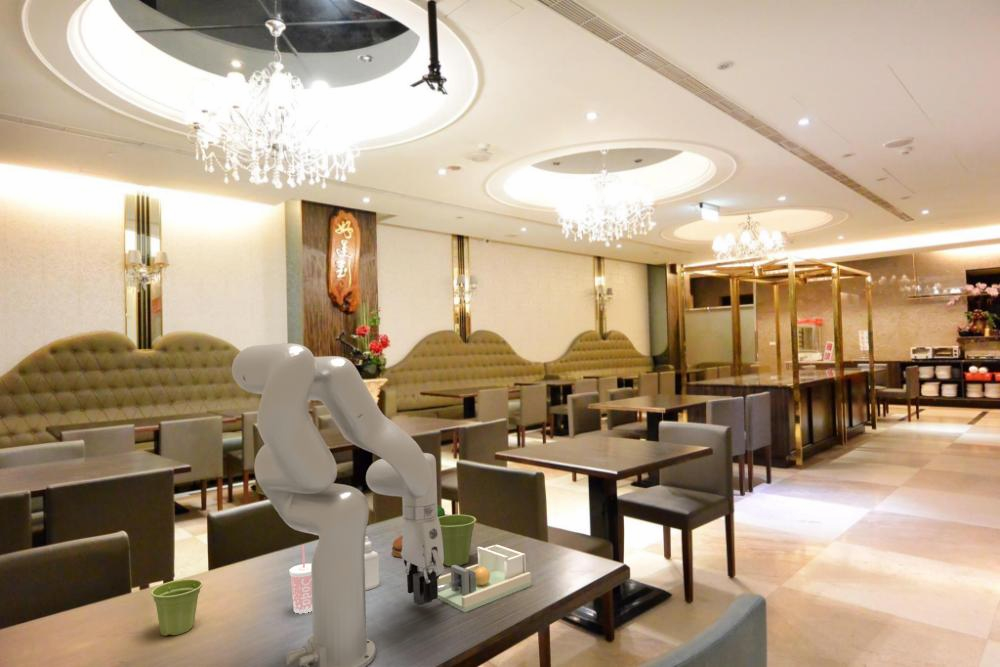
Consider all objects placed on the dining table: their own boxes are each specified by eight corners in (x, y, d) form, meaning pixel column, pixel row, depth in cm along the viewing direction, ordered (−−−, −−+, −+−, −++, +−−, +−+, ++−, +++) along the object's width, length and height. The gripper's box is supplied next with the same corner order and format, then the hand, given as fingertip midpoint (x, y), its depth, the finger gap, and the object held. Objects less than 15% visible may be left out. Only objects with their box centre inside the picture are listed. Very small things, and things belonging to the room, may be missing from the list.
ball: (480, 589, 132) (479, 572, 133) (469, 584, 135) (469, 567, 136) (493, 584, 135) (493, 567, 135) (482, 580, 138) (482, 563, 138)
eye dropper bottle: (378, 589, 137) (377, 538, 138) (354, 592, 136) (353, 540, 137) (380, 582, 141) (378, 533, 142) (356, 584, 140) (355, 535, 141)
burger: (393, 560, 157) (392, 543, 157) (391, 550, 166) (391, 533, 166) (429, 556, 159) (428, 539, 160) (425, 546, 168) (425, 530, 169)
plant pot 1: (191, 615, 126) (191, 575, 127) (210, 626, 120) (210, 584, 121) (144, 632, 119) (143, 589, 120) (162, 645, 113) (161, 600, 114)
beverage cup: (288, 617, 124) (287, 551, 124) (291, 605, 130) (290, 542, 130) (318, 613, 125) (317, 548, 126) (319, 601, 131) (318, 539, 132)
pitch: (464, 612, 123) (463, 575, 123) (427, 593, 134) (426, 559, 134) (531, 585, 136) (530, 552, 137) (493, 570, 147) (492, 539, 147)
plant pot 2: (483, 565, 150) (482, 522, 151) (440, 573, 146) (438, 528, 147) (469, 552, 161) (468, 511, 162) (428, 559, 157) (427, 517, 158)
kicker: (423, 609, 122) (422, 578, 122) (410, 602, 125) (409, 572, 126) (476, 590, 131) (475, 561, 131) (462, 584, 135) (461, 556, 135)
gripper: (457, 514, 121) (460, 602, 120) (413, 501, 134) (415, 580, 133) (428, 522, 116) (430, 613, 116) (384, 507, 129) (387, 589, 128)
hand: (422, 594), depth 124 cm, fingers open, 5 cm apart
